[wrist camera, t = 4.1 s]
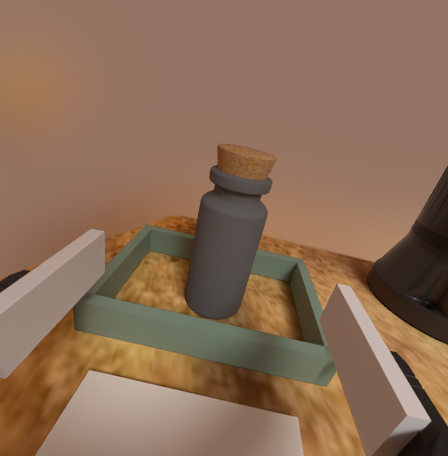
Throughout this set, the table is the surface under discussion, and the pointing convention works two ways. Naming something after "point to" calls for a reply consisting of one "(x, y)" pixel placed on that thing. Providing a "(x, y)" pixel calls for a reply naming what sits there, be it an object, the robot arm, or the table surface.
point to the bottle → (228, 231)
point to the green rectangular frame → (205, 329)
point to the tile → (164, 424)
